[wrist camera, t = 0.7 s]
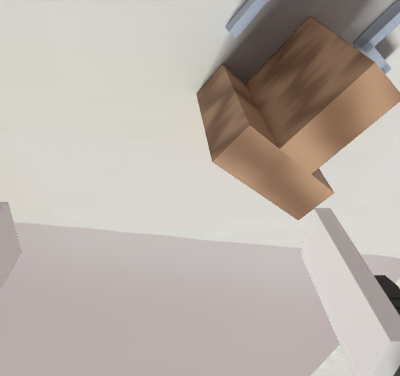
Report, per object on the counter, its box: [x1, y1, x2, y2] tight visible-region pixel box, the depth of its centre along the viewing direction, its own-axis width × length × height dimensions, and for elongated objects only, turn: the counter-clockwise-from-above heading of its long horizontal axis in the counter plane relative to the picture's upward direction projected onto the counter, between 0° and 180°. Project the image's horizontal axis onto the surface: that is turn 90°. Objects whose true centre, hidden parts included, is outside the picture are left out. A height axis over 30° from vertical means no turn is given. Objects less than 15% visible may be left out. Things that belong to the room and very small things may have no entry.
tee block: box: [197, 17, 400, 220], centre depth 35 cm, size 14×12×14 cm
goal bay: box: [226, 0, 400, 74], centre depth 36 cm, size 18×17×2 cm
